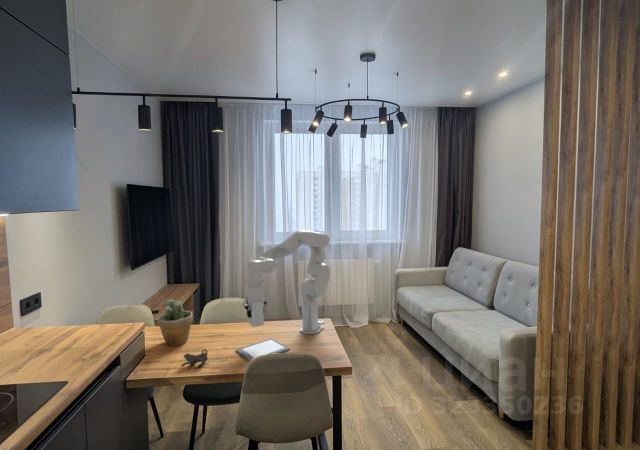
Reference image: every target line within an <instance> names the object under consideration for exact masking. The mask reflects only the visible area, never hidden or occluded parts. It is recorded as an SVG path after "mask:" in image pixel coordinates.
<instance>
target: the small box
mask: <svg viewBox="0 0 640 450" xmlns="http://www.w3.org/2000/svg"><path fill="white" fill-rule="evenodd" d="M250 310H251V318H249V317H248V316H247V322H248V324H249V325H250V326H251V327H252V328H255V327H256V328H257V327H260V326H264V325H265V318H264V314H265V311H264V312H263V301H262V300H261V301H256V302H252V303H251V309H250Z"/></svg>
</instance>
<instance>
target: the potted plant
mask: <svg viewBox="0 0 640 450" xmlns="http://www.w3.org/2000/svg"><path fill="white" fill-rule="evenodd" d="M165 304H166V305H165V306H166V307H164V313H163V314H161V315H159V316H158V317H157V323H158V327H159V328H160V332H161V334H162V337H163V340H164V342H165V344H166V346H168V347H179V346H182V345H184V344H186V343H187V342H188V339H189V335H190V331H191V326H192V322H193V312H192V311H190V310H185V309H184V306H183V301H175V299H168V300H166V303H165Z"/></svg>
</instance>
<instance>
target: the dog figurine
mask: <svg viewBox="0 0 640 450" xmlns="http://www.w3.org/2000/svg"><path fill="white" fill-rule="evenodd" d="M183 358H184V359H185V360H186V361H185V362H184V363H182V364H181V365H180V367H184V366H186V365H196V364H198V363H199V364H198V365H197V366H196V367H197V368H201V367H202V366H204V365H205V364H206V363H205V362H206V361H207V360H208V359H209V358H208V350H207V349H202V350H201V353H200V354H197V355H196V354H191V353H185V354H184V355H183ZM200 362H201V363H200Z"/></svg>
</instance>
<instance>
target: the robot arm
mask: <svg viewBox="0 0 640 450" xmlns="http://www.w3.org/2000/svg"><path fill="white" fill-rule="evenodd" d="M329 244H330V237H329V235H328V234H326V233H322V232H316V231H312V230H311V231H310V230H303V229H297V230H296V231H294V232H293V233H292V234H291V235H289V236H288V237H286V239H285V240H283V241H282V242H281V243H279V244H276V245H275V246H273V247H271V248H269V249H267V250H266V251H265V252H263V253H262V254H261V255H260V256H258V257H257V259H251V260H250V259H249V260H248V261H247V262H246V263H247V264H246V267H247V268H246V269H247V270H246V273H247V285H246V287H245V291H244V300H243V302H241V306H242V307H243V309H244V310H246V316H247V318H248V317H249V318H251V310H250V309H251V303H252V302H256V301H261V300H262V301H263V312H264V313H265V308H266V305H267V303H268V301H269V300H270V299H269V297H267V296H266V294H265V288H264V285H263V283H264V281H265V280H264V279H263V278H262V276H263V274H264V273H265V274H266V273H267V274H270V273H274V272H275V271H276V270H277V267H278V264H277V262H276V260H277V259H279V258H280V259H281V258H286V257H288V256H291V255H292V254H293V253H295V251H296V250H298V249H299V248H300V247H301V246H309V248H310V256H309V257H310V258H309V261H308V263H307V269H306V274H307V275H308V276H309V277H311V278H305V279H304V280H302V281H301V283H300V286H299V289H300V290H299V291H300V295H301V315H302V316H301V318H302V326H301V327H300V328H299V332H300V333H301V334H304V335H314V334H318V333H320V332H321V330H322V329H321V326H322V325H324V324H325V321H324V320H322V321H320V320H319V304H318V303H319V301H318V299H321V298H323V297H324V295H325V294H326V292H327V288H328V285H329V281H330V277H331V268H330V267H329V265H328V264H326V263H324V260H325V254H326V253H325V248H326V247H328V246H329ZM312 278H314V279H312Z"/></svg>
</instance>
